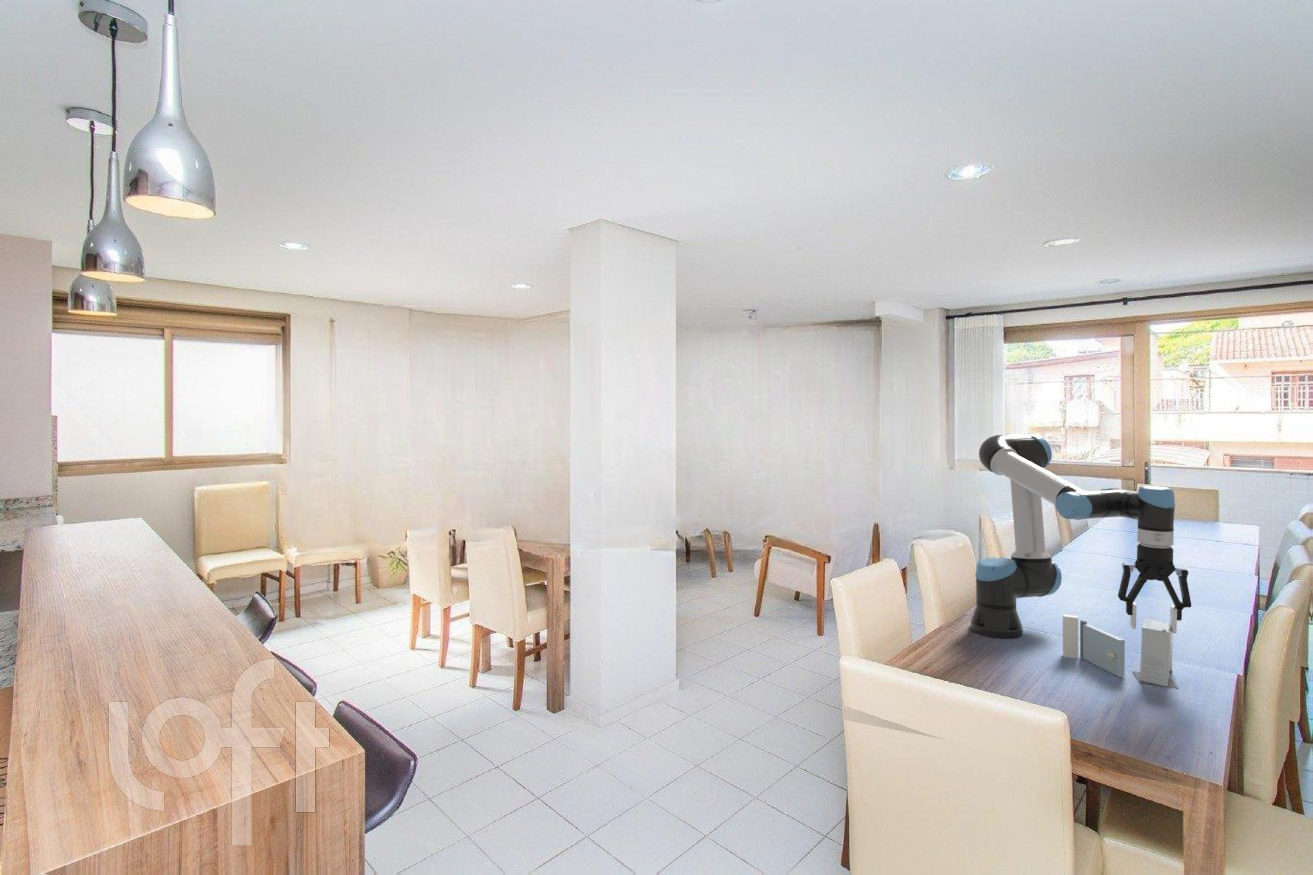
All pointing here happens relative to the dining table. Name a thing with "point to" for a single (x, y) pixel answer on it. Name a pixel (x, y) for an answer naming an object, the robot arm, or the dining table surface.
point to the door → (1102, 649)
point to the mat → (1170, 684)
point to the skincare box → (1155, 652)
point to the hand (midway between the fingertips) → (1152, 629)
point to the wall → (1072, 638)
